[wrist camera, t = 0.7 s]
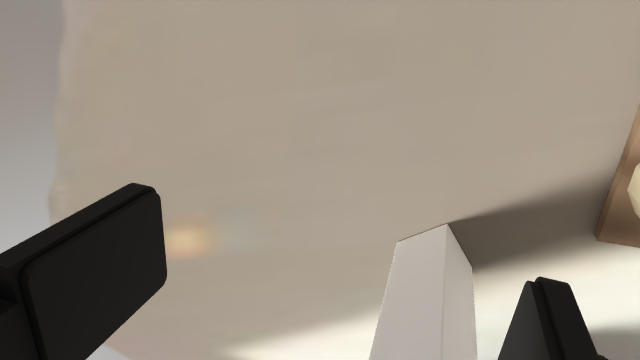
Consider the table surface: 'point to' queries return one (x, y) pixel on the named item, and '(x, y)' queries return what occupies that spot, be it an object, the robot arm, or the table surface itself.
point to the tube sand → (635, 190)
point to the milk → (427, 302)
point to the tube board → (622, 198)
